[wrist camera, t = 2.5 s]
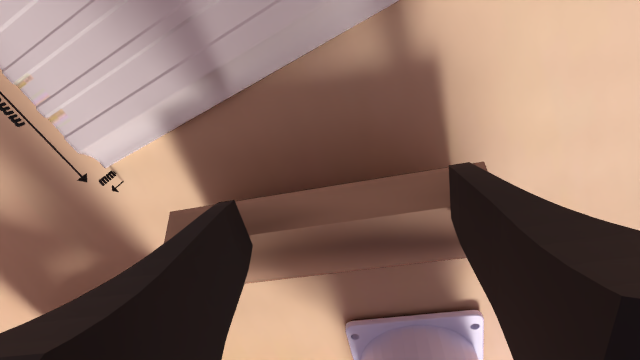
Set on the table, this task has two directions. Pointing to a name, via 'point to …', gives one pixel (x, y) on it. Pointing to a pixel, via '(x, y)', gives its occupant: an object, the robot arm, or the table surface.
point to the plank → (346, 226)
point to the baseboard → (152, 60)
